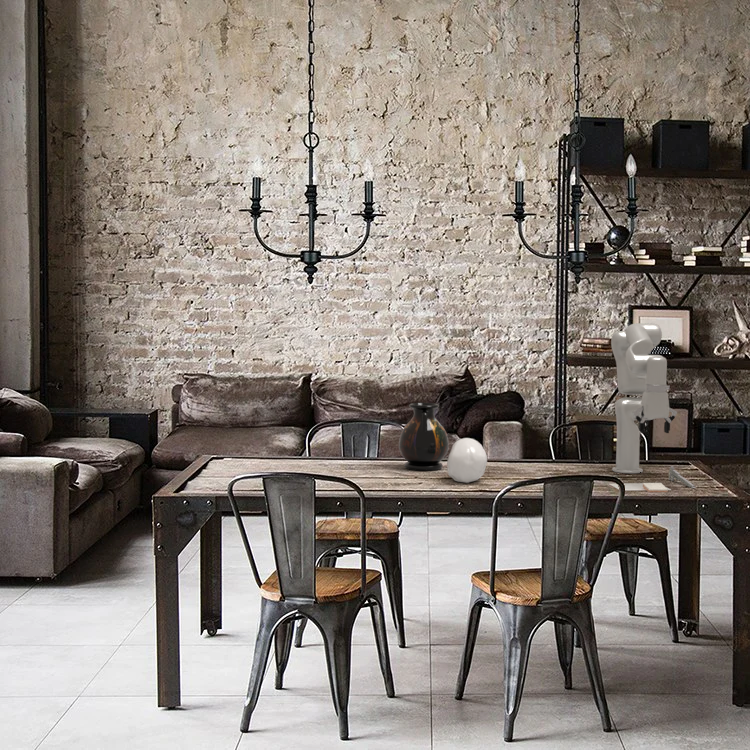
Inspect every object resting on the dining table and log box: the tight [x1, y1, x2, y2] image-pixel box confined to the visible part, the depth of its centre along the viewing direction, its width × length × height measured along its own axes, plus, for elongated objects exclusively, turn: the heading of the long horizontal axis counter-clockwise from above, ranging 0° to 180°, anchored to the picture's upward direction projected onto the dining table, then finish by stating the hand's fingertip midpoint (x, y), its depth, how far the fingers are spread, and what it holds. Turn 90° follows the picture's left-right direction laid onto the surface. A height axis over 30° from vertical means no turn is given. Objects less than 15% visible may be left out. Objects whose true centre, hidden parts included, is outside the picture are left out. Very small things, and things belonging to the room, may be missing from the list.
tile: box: [642, 482, 669, 493], centre depth 382 cm, size 8×2×7 cm
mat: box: [608, 482, 672, 492], centre depth 390 cm, size 15×20×1 cm
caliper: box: [668, 465, 696, 489], centre depth 399 cm, size 20×1×6 cm, turn 11°
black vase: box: [398, 402, 450, 472], centre depth 434 cm, size 22×22×28 cm
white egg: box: [446, 437, 488, 484], centre depth 405 cm, size 16×20×22 cm
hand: (654, 432), depth 390 cm, fingers open, 9 cm apart
